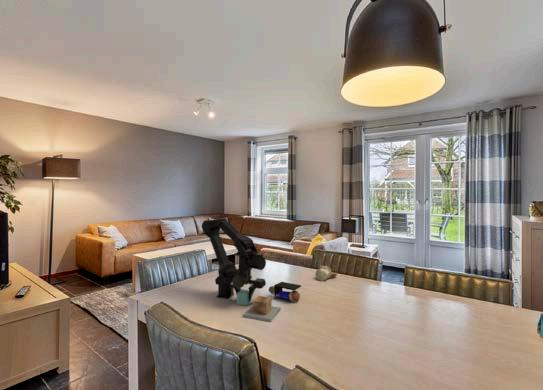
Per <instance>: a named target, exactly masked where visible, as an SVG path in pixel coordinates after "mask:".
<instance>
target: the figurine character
mask: <svg viewBox="0 0 543 390" xmlns="http://www.w3.org/2000/svg"><path fill="white" fill-rule="evenodd" d="M301 287H302V285H300V284H296V283H290V282H285V281H280V282H278V283H276V284H274V285H271V286H269V287H268V292H269V294H271V295H274V296H273V298H275V299H276V298H281V299H287V300H288V299H289V300H290V301H291V302H293V303H297V302H298V301H300V297H301V294H300V293H299V291H297V290H298V289H299V288H301ZM284 290H285V291H284ZM287 290H290V291H287Z"/></svg>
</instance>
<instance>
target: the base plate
mask: <svg viewBox="0 0 543 390" xmlns="http://www.w3.org/2000/svg"><path fill="white" fill-rule="evenodd" d="M281 310H282V309H281V307H278V306H272V305H271V310H270V312H269V313H268V314H267V315H263V314H257V313H253V305H252V306H250V307H249V308H248V309H247V310H246V311H245V312H244V313H243V314H242V317H243V318H248V319H253V320H257V321H258V320H259V321H265V322H269V323H271V322H272V321H273V320H274V319H275V317H276V316H277V315H278V314H279V312H280V311H281Z"/></svg>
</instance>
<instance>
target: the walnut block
mask: <svg viewBox="0 0 543 390" xmlns="http://www.w3.org/2000/svg"><path fill="white" fill-rule="evenodd" d="M252 306H253V313H257V314H263V315H267V314H268V313H269V312H270V310H271V306H272V297H271V296H264V295H263V296H262V295H257V297H255V298H253V299H252Z"/></svg>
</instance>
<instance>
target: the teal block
mask: <svg viewBox="0 0 543 390" xmlns="http://www.w3.org/2000/svg"><path fill="white" fill-rule="evenodd" d="M251 302H253V298H251V301H249V289H243V288H241V290H240V291H239V292H237V294H236V305H242V306H243V305H244V306H248V305H249V304H250V303H251Z"/></svg>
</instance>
